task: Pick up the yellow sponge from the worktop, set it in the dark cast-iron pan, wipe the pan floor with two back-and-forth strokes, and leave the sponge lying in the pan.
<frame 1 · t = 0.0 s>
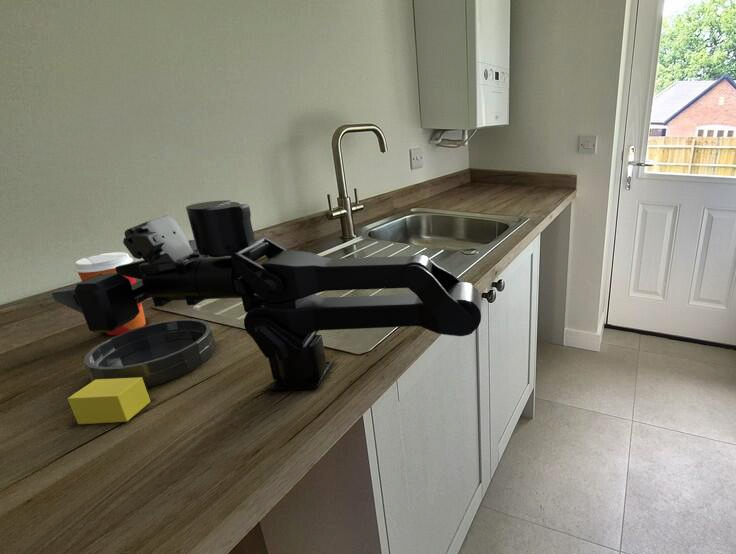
hand: (87, 282, 55), 17 cm above the table, tool horizontal, fingers open, 9 cm apart
paper cup: (127, 328, 77), on the table
pan: (159, 363, 66), on the table
sponge: (115, 412, 55), on the table
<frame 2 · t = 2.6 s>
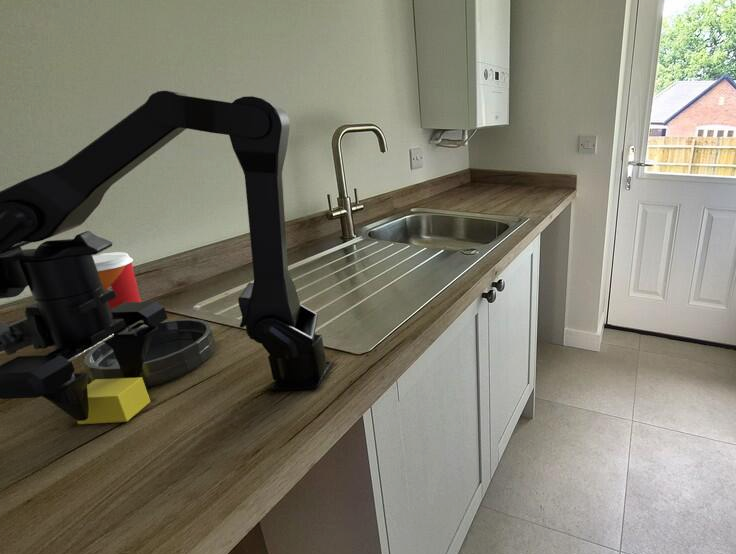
hand: (109, 399, 54), 2 cm above the table, tool pointing down, fingers open, 7 cm apart
nothing on the table moved.
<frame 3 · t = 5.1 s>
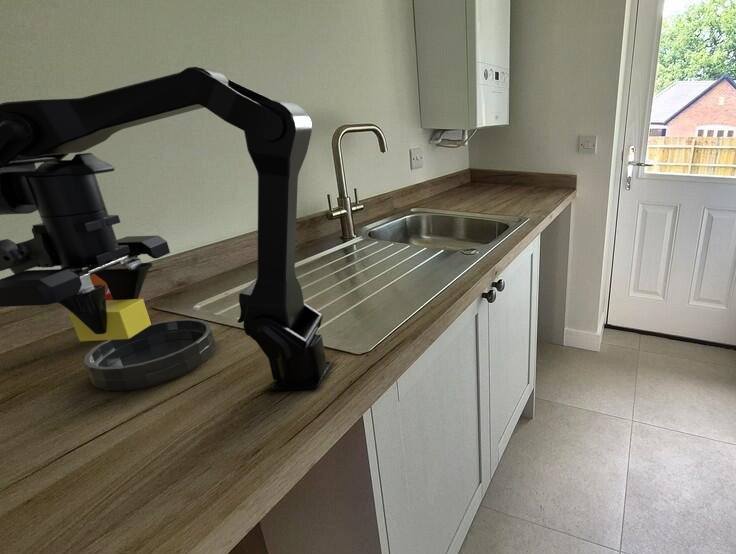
hand: (115, 325, 55), 11 cm above the table, tool pointing down, fingers closed on sponge, 4 cm apart
sponge: (117, 332, 55), point 10 cm above the table, touching gripper
everything else where it was.
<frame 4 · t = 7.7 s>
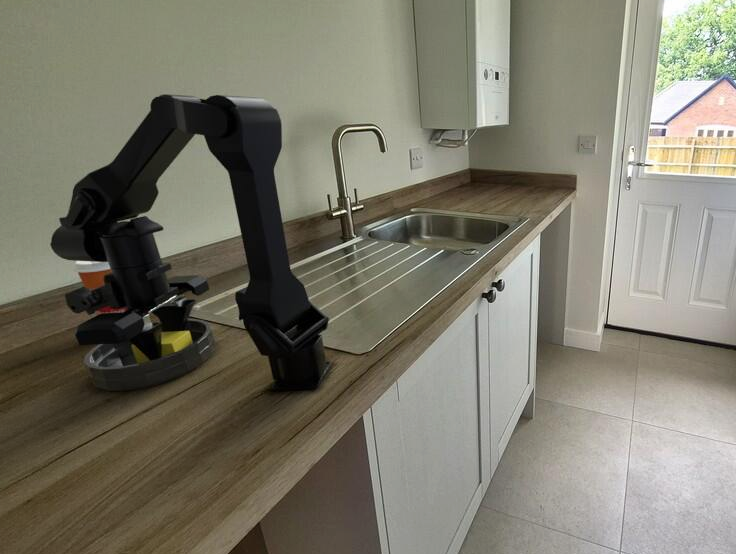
hand: (166, 354, 65), 2 cm above the table, tool pointing down, fingers closed on sponge, 4 cm apart
sponge: (168, 359, 66), point 1 cm above the table, touching gripper, pan
everything else where it was.
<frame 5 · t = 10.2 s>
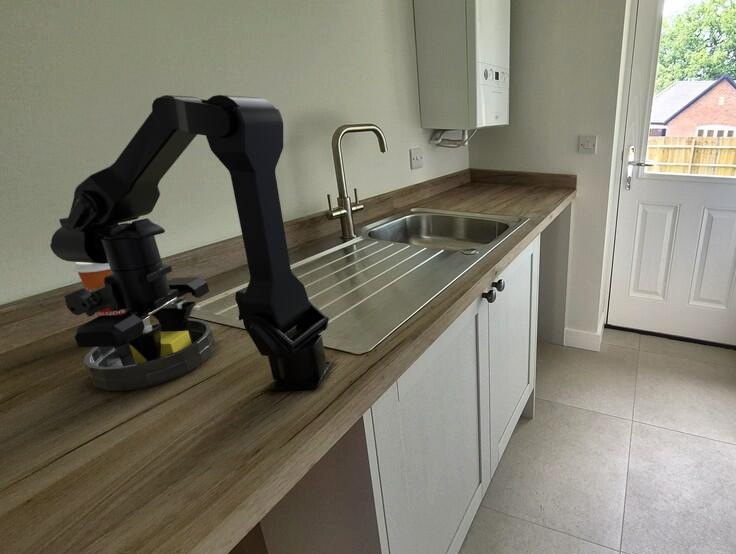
hand: (165, 356, 65), 1 cm above the table, tool pointing down, fingers closed on sponge, 4 cm apart
sponge: (166, 359, 65), point 1 cm above the table, touching gripper
everything else where it was.
when the fingers open (1 cm above the table, at t = 12.2 s): sponge stays where it is, resting on pan.
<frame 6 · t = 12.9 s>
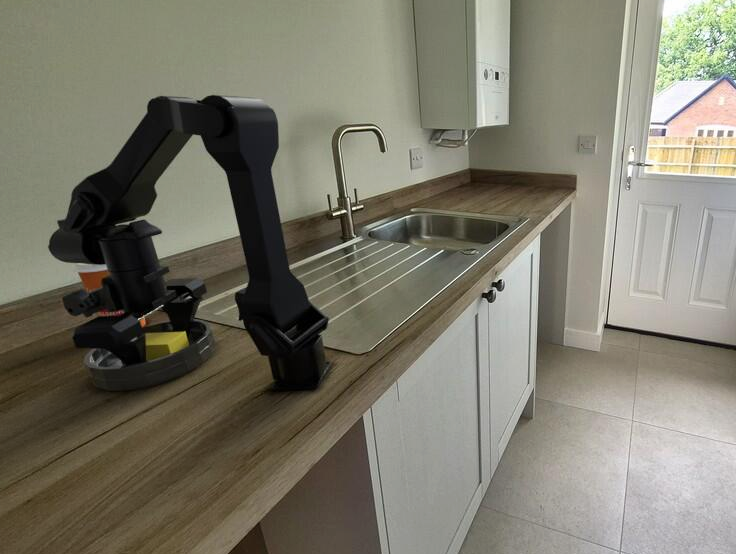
hand: (163, 356, 66), 1 cm above the table, tool pointing down, fingers open, 9 cm apart
sponge: (163, 360, 66), resting on pan
everything else where it was.
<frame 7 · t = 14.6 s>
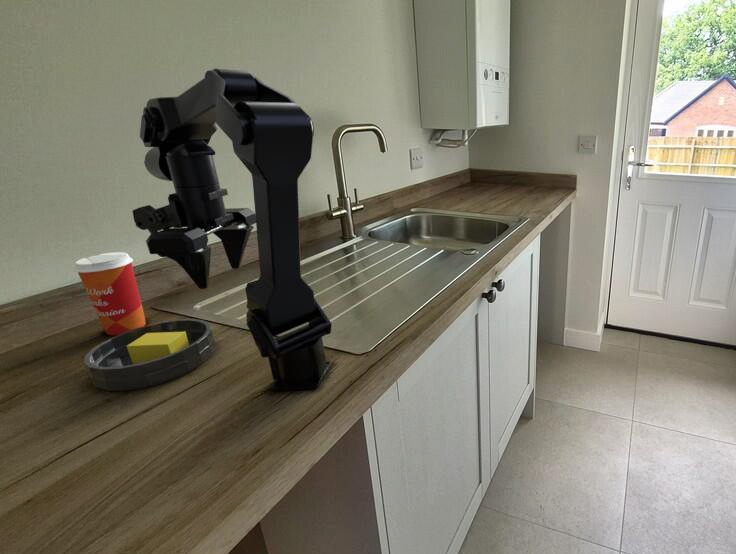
hand: (220, 277, 69), 12 cm above the table, tool pointing down, fingers open, 9 cm apart
nothing on the table moved.
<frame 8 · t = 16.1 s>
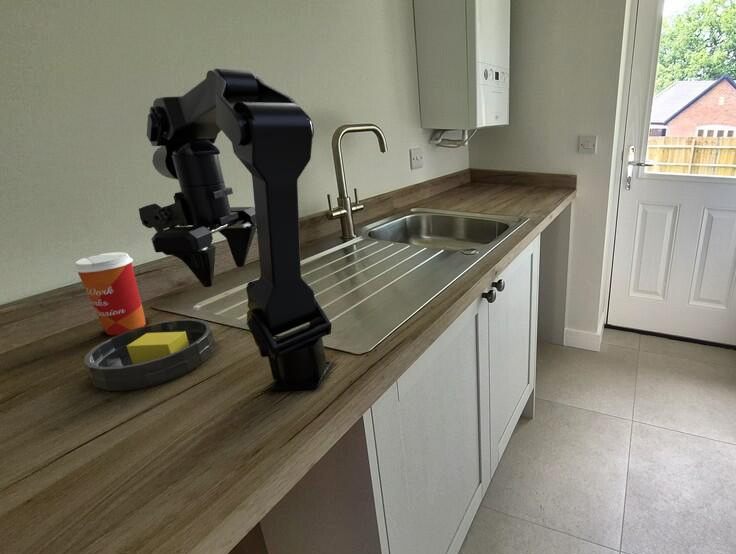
hand: (225, 276, 69), 12 cm above the table, tool pointing down, fingers open, 9 cm apart
nothing on the table moved.
at the end: sponge inside the target area in the pan (0.9 cm from its centre), point 0.5 cm above the pan's base; sponge moved 12.1 cm from its start; the gripper is holding nothing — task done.
